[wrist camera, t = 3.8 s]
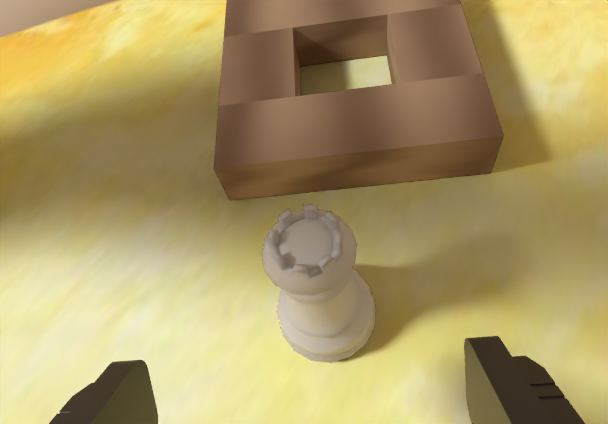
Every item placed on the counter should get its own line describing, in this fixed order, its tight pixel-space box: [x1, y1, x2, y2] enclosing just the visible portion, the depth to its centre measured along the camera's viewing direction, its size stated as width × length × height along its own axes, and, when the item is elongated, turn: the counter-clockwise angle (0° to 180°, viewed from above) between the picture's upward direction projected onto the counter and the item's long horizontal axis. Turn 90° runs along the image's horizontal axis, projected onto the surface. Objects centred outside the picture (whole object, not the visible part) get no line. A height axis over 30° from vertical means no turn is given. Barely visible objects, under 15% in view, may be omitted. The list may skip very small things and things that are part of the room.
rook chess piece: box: [261, 204, 376, 363], centre depth 19 cm, size 4×4×8 cm
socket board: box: [214, 0, 504, 200], centre depth 28 cm, size 14×14×3 cm
